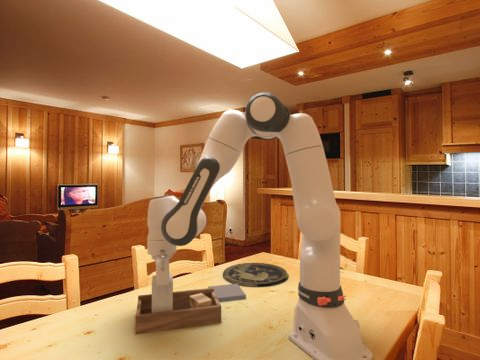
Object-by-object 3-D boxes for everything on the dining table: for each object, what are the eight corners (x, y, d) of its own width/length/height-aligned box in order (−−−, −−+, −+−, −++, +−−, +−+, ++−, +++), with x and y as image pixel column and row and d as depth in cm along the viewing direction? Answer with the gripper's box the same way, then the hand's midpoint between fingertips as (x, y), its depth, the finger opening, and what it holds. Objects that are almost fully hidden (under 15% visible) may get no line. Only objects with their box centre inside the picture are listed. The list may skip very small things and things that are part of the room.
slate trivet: (245, 298, 107) (245, 294, 107) (213, 302, 104) (213, 298, 104) (237, 287, 119) (237, 283, 119) (208, 290, 116) (208, 286, 116)
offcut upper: (211, 309, 93) (211, 299, 93) (199, 312, 90) (199, 303, 90) (201, 301, 99) (201, 292, 99) (189, 304, 96) (189, 295, 96)
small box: (173, 324, 88) (173, 282, 88) (151, 327, 87) (151, 284, 87) (172, 313, 96) (172, 273, 96) (152, 315, 94) (152, 275, 94)
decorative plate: (241, 259, 154) (296, 267, 140) (241, 263, 154) (296, 271, 140) (209, 277, 127) (274, 288, 114) (209, 281, 127) (274, 293, 114)
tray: (221, 322, 90) (221, 302, 90) (135, 334, 83) (135, 313, 83) (213, 304, 102) (213, 287, 102) (138, 313, 96) (138, 295, 95)
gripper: (174, 254, 82) (174, 303, 82) (170, 239, 102) (170, 279, 102) (151, 256, 80) (150, 306, 80) (152, 240, 100) (152, 280, 100)
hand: (162, 290), depth 91 cm, fingers closed on small box, 8 cm apart
